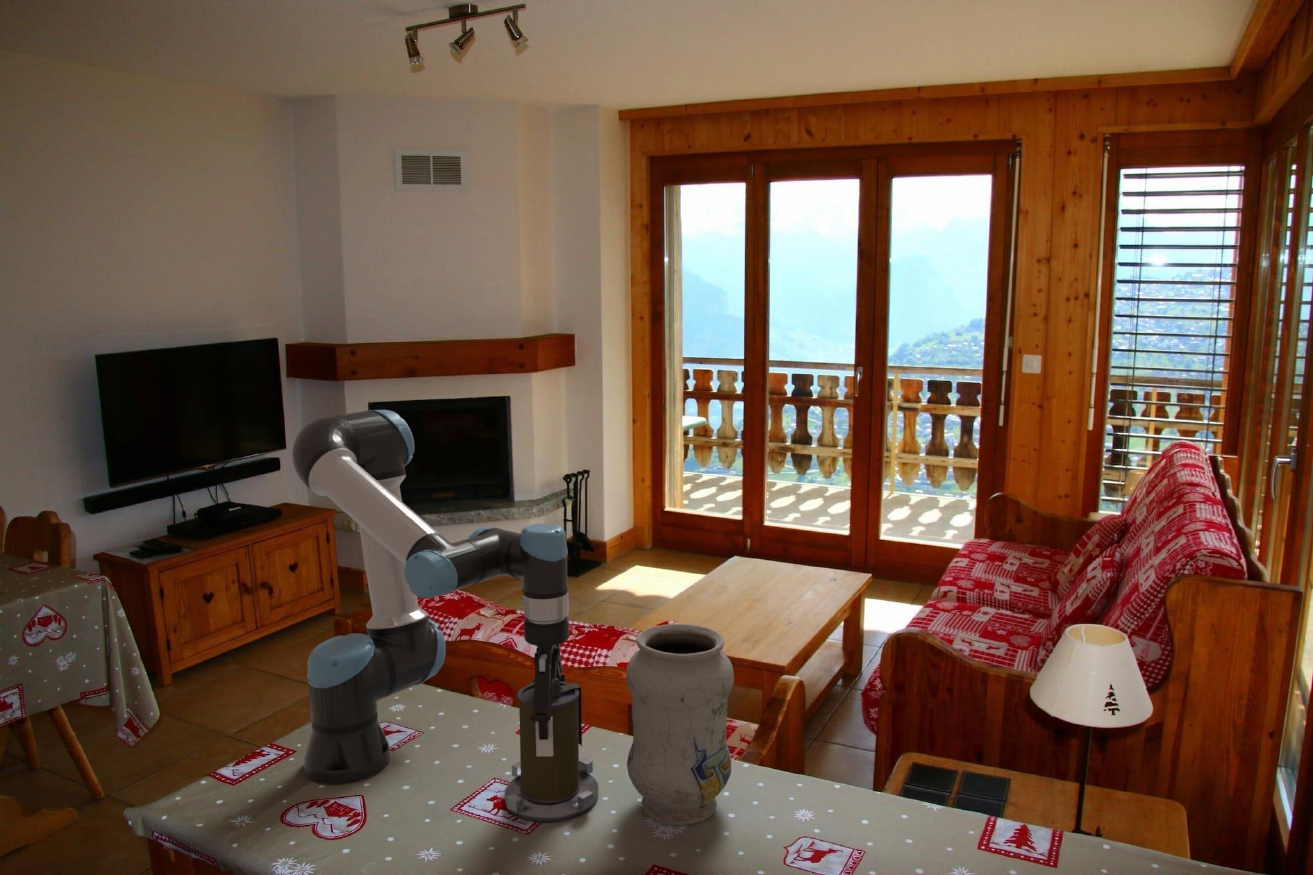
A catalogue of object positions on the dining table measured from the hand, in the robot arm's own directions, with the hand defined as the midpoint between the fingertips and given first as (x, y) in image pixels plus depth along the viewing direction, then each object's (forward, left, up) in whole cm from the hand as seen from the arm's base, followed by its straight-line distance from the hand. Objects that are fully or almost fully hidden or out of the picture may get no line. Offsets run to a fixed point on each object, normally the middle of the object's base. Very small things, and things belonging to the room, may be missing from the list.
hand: (550, 736), depth 163 cm
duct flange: (0, 0, -11) cm, 11 cm away
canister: (0, 0, -10) cm, 10 cm away
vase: (+19, +12, -11) cm, 25 cm away
